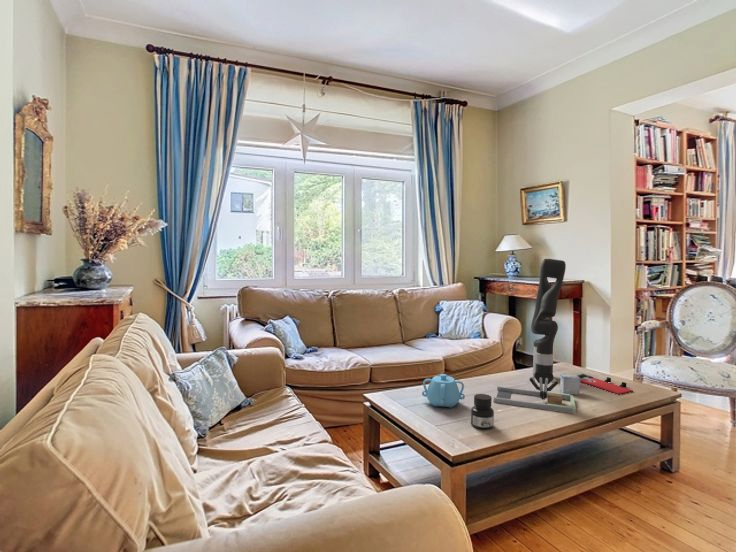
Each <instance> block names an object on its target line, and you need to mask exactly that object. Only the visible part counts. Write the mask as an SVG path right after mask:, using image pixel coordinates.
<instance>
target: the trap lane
mask: <svg viewBox="0 0 736 552" xmlns="http://www.w3.org/2000/svg"><path fill="white" fill-rule="evenodd" d="M497 390H498V391H497ZM496 391H497V394H496V396H495V397H493V403H497V404H504V405H511V406H517V407H527V408H532V409H540V410H546V409H547V410H546V411H553V410H554V411H556V412H560V411H561V413H569V414H575V415H576V413H577V412H576V411H577V408H576V403H575V399H574V395H573V394H563V393H562V392H555V391H554V392H553V391H547V398H548V393H549V394H557V395H562V400H567V401H570V406H569V405H563V404H562V405H555V404H547V403H540V402H539V403H538V402H533V401H525V400H516V399H511V395H512V394H518V393H519V394H521V395H526V394H527V396H534V395H535V397H540V391H539V390H532V389H523V388H515V387H507V386H499V385H497V389H496ZM511 392H512V393H511Z"/></svg>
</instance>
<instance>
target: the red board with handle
mask: <svg viewBox="0 0 736 552" xmlns="http://www.w3.org/2000/svg"><path fill="white" fill-rule="evenodd" d="M576 375H577V376H578V377H579V378H580V384H583V385H586V384H587V386H589V385H590V387H592V386H593V388H595V387H596V388H595V389H598V388H599V390H601V389H602V391H604V390H606V391H605V392H607V391H608V393H610V392H611V393H610V394H613V393H615V394H614V395H616V394H618V395H617V396H621V395H620V394H622V395H626V394H625V393H627V394H630V393H629V392H631V393H634V390H633V389H630V388H627V382H625V381H622V382H621V384H620V385H618V384H614V383H612V378H611V377H608V376H607V377H606V379H604V380H603V379H598V378H596V377H594V376H591V375H588V374H585V373H581V374H580V373H579V374H576ZM608 382H611V383H608ZM624 387H626V388H624Z"/></svg>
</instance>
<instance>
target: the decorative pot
mask: <svg viewBox="0 0 736 552" xmlns="http://www.w3.org/2000/svg"><path fill="white" fill-rule="evenodd" d="M426 382H429V384H428V387H427V385H426ZM458 384H460V385H461V387H460V388H461V389H459V386H458ZM422 386H423V389H424V390H422V392H421V394H422V396H423V397H426V398H427V401H428V402H429V403H430V404H431V405H432V406H433V407H444V408H445V407H446V408H453V407H455V406H456V405H457V404H458V403H459V401H460V400H465V398H466V397H465V396H466V395H465V394H464V393H463V392H464V389H465V384H464V383H463V381H461V380H457V379H455V378H454V377H453V376H449V375H448V374H445V373H441V374H439V375H435V376H433V377H432V378H425V379H424V380H423V382H422Z"/></svg>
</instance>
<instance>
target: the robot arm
mask: <svg viewBox="0 0 736 552" xmlns="http://www.w3.org/2000/svg"><path fill="white" fill-rule="evenodd" d="M566 265H567V264H566V262H565V261H564V260H561V259H556V258H555V259H553V258H543V260H542V261H541V265H540V269H539V271H540V272H539V283H538V288H537V293H536V297H535V306H534V312H533V317H532V320H531V324H530V325H531V326H530V329H531V332H532V334H534V335H538V336H539V335H543V337H541V338H539V339H535V340H534V341H533V355H532V356H533V357H532V359H533V361H532V376H530V377H529V378H528V379H529V382H530V383H531V384H532V386H533V387H534V389H536V391H540V396H539V398H540V399H541V400H542V401H543V400H544V401H545V400H547V399H548V397H547V392H552V390H554V388H555V387H556V386H557V385H558V384H559V381H558V380H557V379H556V378H555V377H554V373H553V372H554V356H553V355H554V342H555V338H556V335H557V333H558V329H559V326H558V323H557V322H556V321H555V320H552V318H554V317H556V314H557V308H558V307H557V306H558V301H559V297H560V296H559V295H560V292H561V289H562V286H563V282H564V278H565V273H566V269H567V268H566V267H567V266H566ZM548 278H549V279H556V280H555V282H554V283H553V285H551V284H550V282H549V280H548ZM536 381H537V382H536ZM550 383H551V384H550ZM538 384H539V385H538ZM549 384H550V385H549ZM548 385H549V386H548Z"/></svg>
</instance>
